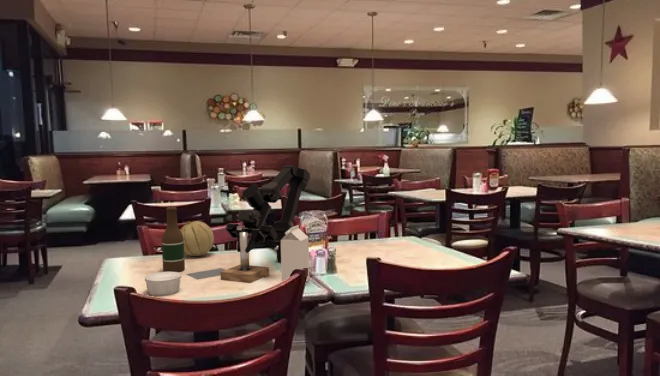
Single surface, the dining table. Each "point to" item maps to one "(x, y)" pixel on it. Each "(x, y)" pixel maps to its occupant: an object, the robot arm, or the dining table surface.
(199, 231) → the cantaloupe
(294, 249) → the milk carton
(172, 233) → the beer bottle
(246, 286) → the dining table surface
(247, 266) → the steel pin
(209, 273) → the rubber mat
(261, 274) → the socket block
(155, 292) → the ramekin
